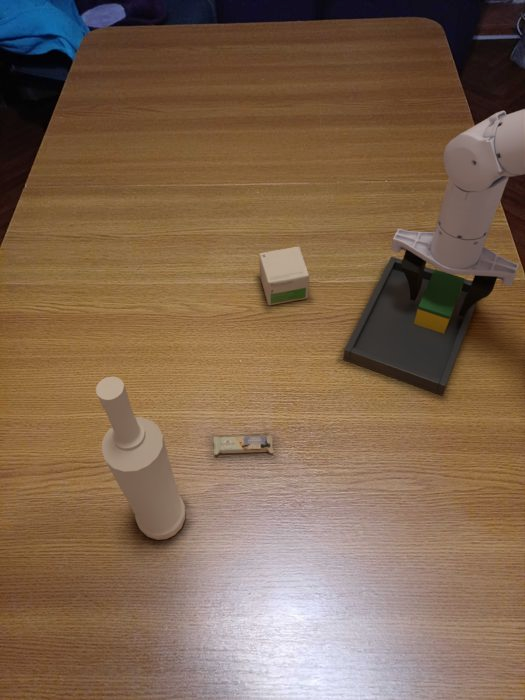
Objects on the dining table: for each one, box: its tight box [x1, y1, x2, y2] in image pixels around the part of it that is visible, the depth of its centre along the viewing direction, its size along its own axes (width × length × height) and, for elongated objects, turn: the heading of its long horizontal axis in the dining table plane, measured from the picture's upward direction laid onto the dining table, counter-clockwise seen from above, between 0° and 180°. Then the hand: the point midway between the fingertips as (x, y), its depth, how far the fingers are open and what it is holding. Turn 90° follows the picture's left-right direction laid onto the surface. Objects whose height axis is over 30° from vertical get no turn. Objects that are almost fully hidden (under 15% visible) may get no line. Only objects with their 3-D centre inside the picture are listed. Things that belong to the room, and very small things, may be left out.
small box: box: [258, 245, 310, 306], centre depth 82 cm, size 6×6×5 cm
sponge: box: [414, 268, 466, 334], centre depth 79 cm, size 7×4×4 cm, turn 154°
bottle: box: [95, 376, 186, 541], centre depth 55 cm, size 5×5×25 cm
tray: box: [342, 256, 478, 396], centre depth 79 cm, size 13×18×2 cm
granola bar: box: [212, 434, 274, 456], centre depth 69 cm, size 7×2×1 cm, turn 91°
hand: (438, 302), depth 79 cm, fingers open, 6 cm apart
